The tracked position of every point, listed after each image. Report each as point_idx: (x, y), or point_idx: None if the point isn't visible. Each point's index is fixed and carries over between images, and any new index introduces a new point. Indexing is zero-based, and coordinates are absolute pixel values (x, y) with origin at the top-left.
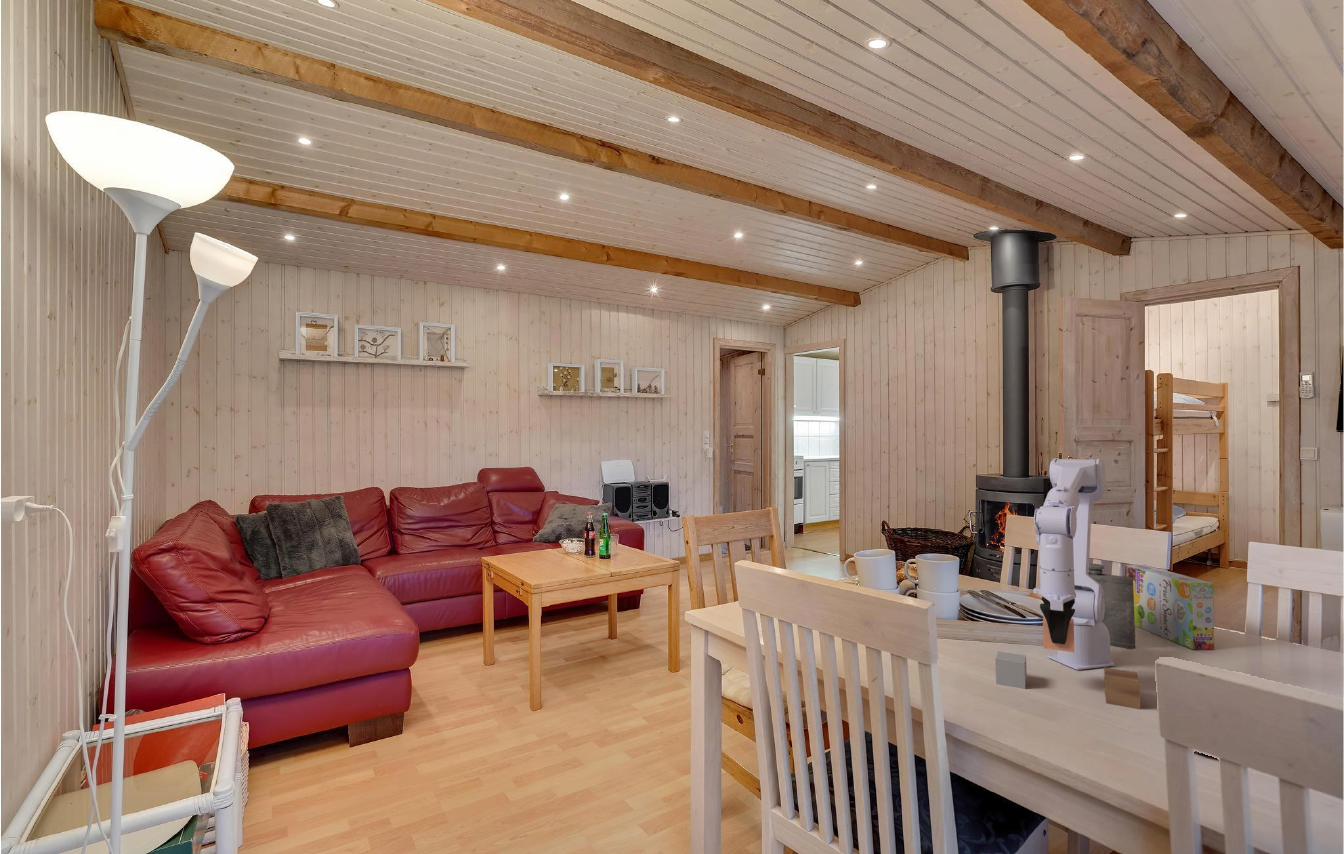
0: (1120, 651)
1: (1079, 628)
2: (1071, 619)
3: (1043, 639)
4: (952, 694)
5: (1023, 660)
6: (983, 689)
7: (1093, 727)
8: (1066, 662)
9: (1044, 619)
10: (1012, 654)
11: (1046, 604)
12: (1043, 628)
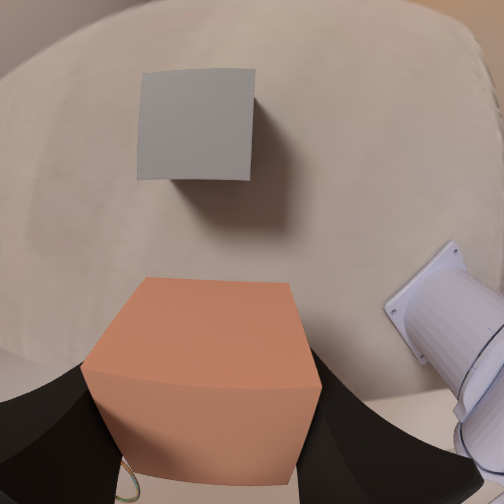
0: None
1: (456, 376)
2: (269, 481)
3: (131, 298)
4: (63, 39)
5: (175, 173)
6: (113, 78)
7: (46, 308)
8: (417, 284)
9: (168, 389)
10: (237, 125)
11: (17, 502)
12: (104, 338)
